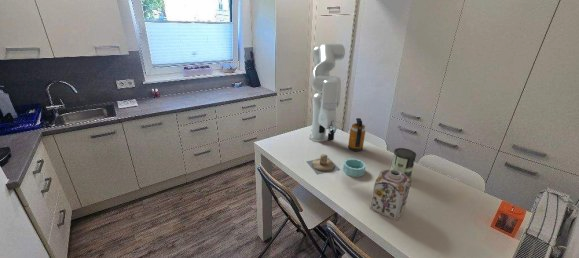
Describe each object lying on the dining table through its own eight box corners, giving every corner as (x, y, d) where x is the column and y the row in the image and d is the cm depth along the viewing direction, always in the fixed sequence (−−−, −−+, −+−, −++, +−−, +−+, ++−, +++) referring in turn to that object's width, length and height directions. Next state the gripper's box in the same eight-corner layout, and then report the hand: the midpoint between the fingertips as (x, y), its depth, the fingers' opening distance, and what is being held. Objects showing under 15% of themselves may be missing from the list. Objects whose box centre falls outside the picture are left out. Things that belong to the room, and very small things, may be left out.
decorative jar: (379, 195, 115) (386, 161, 108) (405, 207, 109) (414, 171, 102) (368, 209, 107) (375, 173, 100) (396, 222, 100) (405, 184, 93)
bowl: (339, 168, 136) (339, 160, 134) (356, 165, 140) (357, 157, 138) (350, 179, 127) (351, 171, 125) (368, 175, 130) (369, 167, 128)
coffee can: (407, 172, 134) (413, 149, 129) (412, 183, 125) (418, 158, 120) (387, 169, 136) (392, 146, 131) (390, 180, 127) (396, 156, 121)
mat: (306, 162, 141) (306, 161, 141) (328, 158, 146) (328, 157, 146) (317, 175, 129) (317, 174, 129) (340, 170, 134) (340, 169, 134)
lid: (308, 161, 141) (309, 152, 138) (327, 158, 145) (328, 149, 142) (318, 173, 130) (318, 163, 128) (338, 169, 134) (339, 159, 132)
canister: (361, 146, 162) (365, 117, 154) (364, 154, 152) (369, 123, 144) (347, 145, 163) (350, 116, 155) (349, 153, 153) (353, 122, 145)
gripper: (314, 100, 130) (312, 130, 137) (330, 111, 115) (327, 144, 122) (327, 99, 132) (324, 129, 139) (344, 109, 118) (340, 142, 124)
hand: (326, 136), depth 130 cm, fingers open, 9 cm apart
